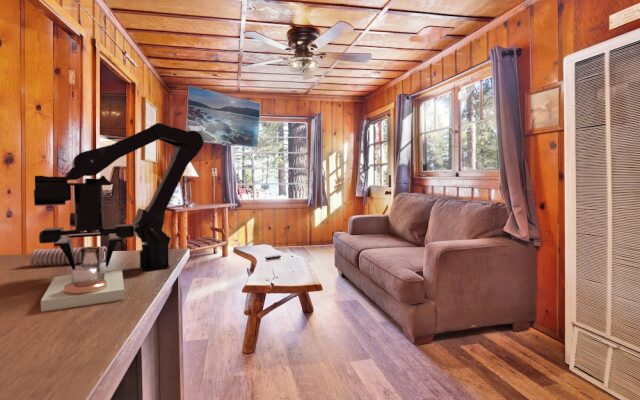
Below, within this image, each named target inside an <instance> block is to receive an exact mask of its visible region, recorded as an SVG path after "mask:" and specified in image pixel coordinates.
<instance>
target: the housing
mask: <svg viewBox="0 0 640 400" xmlns="http://www.w3.org/2000/svg"><path fill="white" fill-rule="evenodd" d="M97 276H98V279H102V280H106V283H107V287H106V288H105V289H103V290H101V291H98V292H94V293H89V294H82V295H68V294H65V293H64V286H65V285H67V284H69V283H73V274H68V275H67V274H66V275H57V276H54V277H53V279H52V280H51V282H50V284H49V286H48V288H47V290H46V291H45V293H44V295H43V296H42V298H41V300H40V312H48V311H55V310H62V309H69V308H76V307H81V306H90V305H96V304H104V303H110V302H116V301H123V300H125V286H124V275H123V269H121V268H120V269H113V270H104V271H101V272H97Z"/></svg>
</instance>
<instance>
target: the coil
mask: <svg viewBox="0 0 640 400" xmlns="http://www.w3.org/2000/svg"><path fill="white" fill-rule="evenodd" d="M84 247H85V246H82V247H81V246H80V247H73V253H74V258H75V265H78V264H80V263H81V254H80V249H81V248H84ZM98 247H100V263H103V262H104V263H106V255H107V248H108V247H107V246H105V245H103V246H101V245H100V246H98ZM29 257H30V259H29V263H30V266H31V267H32V268H33V267H44V266H45V267H47V266H53V265H54V266H57V265H58V266H61V265H62V266H63V265H64V264H65V265H70V263H69V261H68V259H67V257H66V255H65V254H64V252H63V251H62V249H61V248H60V247H59V248H48V249H47V248H44V249H41V248H40V249H37V248H36V249H33V251H32V252H31V254H30V256H29ZM66 263H67V264H66ZM77 263H78V264H77Z"/></svg>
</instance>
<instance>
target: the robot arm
mask: <svg viewBox="0 0 640 400" xmlns="http://www.w3.org/2000/svg"><path fill="white" fill-rule="evenodd" d="M156 141H161V142H163V143H166V144H168V145H170V146H173V148H172V157H171V160H170V163H169V164H168V167H167V169H166V170H165V172H164V174H163V177H162V178H161V179H160V180H161V181H160V182H159V184H158V186H157V189H156V190H155V191H154V194H153V196H152V198H151V201H150V202H149V204H148V205H147V206H146V207H145V208H144V209H143V208H137V210H136V215H135V217H134V218H133V219H132V220H131V223H123V224H115V227H107V228H106V227H105V221H104V220H105V219H104V201H103V186H111V185H112V182H111V181H110V180H108V179H107V178H106V176H105V175H101V176H100V177H99V178H85V179H84V182H68V181H69V180H70V181H77V180H79V179H81V178H83V177H92V176H95V175H98V174H100V173H101V172H102V171H104V170H105V169H107V168H108V167H109V166H111V165H112V164H113V163H115V161H117V160H118V159H120V158H122V157H124V156H126V155H129V154H131V153H132V152H135V151H137V150H138V149H141V148H143V147H145V146H147V145H150V144H151V143H153V142H156ZM204 142H205V141H204V139H203V136H202V135H201V133H199V132H198V131H196V130H187V131H186V130H184V129H183V128H182V129H181V128H178V127H173V126H171V125H170V126H169V125H166V124H164V123H162V122H156V123H154V124H152V125H150V126H149V127H148V128H145V129H143V130H141V131H139V132H136V133H134V134H132V135H130V136H128V137H125V138H123V139H121V140H119V141H116V142H114V143H112V144H109V145H106V146H102V147H98V148H97V147H96V148H94V149H93V148H92V149H90V150H86V151H82V152H80V153H79V154H77V155H75V157H74V158H73V160H72V168H71V169H69V171H68V172H65V175H64V176H46V175H34V189H33V196H34V197H33V199H34V200H33V201H34V206H35V207H36V206H37V207H39V206H40V207H42V206H43V207H44V206H66V202H68V201H71V200H72V186H73V197H74V198H73V199H74V212H70V214H69V225H70V227H71V228H72V227H75V228H74V229H69V230H64V227H45V228H44V229H43V230H41V231H40V232H39V234H38V235H39V236H38V239H39V244H50V243H51V244H52V243H53V246H54V247H59V248H60V249H62V252H64V254H65V255H66V257H67V259H68V261H69V263H70V264H69V265H70V267H71V269H72V271H73V270H74V269H76V263H75V258H74V253H73V248H74V247H73V240H72V239H74V238H88V237H104V236H105V237H107V236H108V242H107V247H106V248H107V255H106V262H105V267H106V268H108V267H109V264H110V261H111V258H112V256H113V255H112V254H113V252H114V250H115V248H116V246H117V244H118V243H119V242H123V239H124V238H125V239H126V238H134V237H135V236H136V237H137V238H139V239H140V242H141V243H142V244H141V249H140V250H139V251H138V252H139V267H140V268H141V269H142V271H153V270H160V269H161V270H162V269H169V268H171V265H170V263H169V260H170V258H169V256H170V255H169V245H170V242H171V237H170V236H169V235H168V234H167V233H165V232H164V231H163V230H162V229H163V226H164V223H165V214H166V209H167V207H168V205H169V204H170V202H171V200H172V198H173V195H174V193H175V192H176V189H177V187H178V185H179V184H180V181H181V179H182V177H183V175H184V173H185V170H186V169H187V167H188V165H189V164H190V163H191V161H193V159H195V158H196V157H197V155H198V154H199V152H200V151H201V150H202V149H203V147H204ZM104 227H105V228H104ZM71 238H72V239H71Z"/></svg>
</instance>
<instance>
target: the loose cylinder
mask: <svg viewBox="0 0 640 400" xmlns="http://www.w3.org/2000/svg"><path fill="white" fill-rule="evenodd" d="M83 247H84V248H82V247H81V249H80V250H79V252H80V254H81V264H80V268H82V267H97V272H102V271H101V270H102V269H101V266H102V265H101V262H100V247H99V246H92V245H91V246H83Z"/></svg>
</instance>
